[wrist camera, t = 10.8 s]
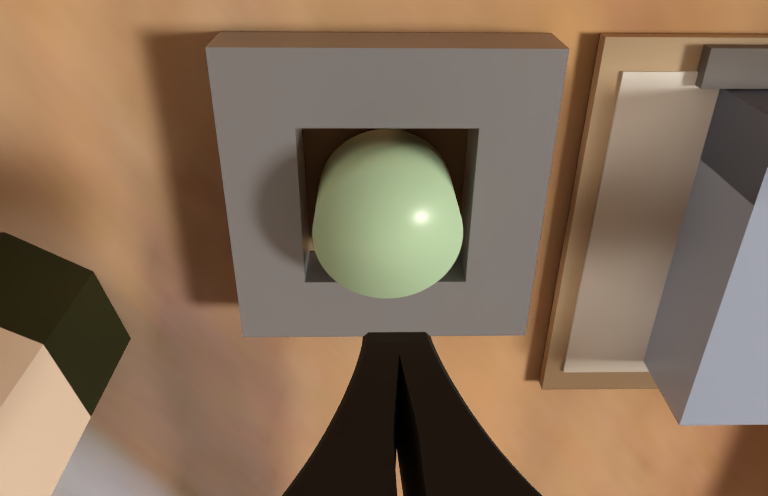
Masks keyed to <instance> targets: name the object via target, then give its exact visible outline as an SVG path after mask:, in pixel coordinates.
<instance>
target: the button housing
mask: <svg viewBox="0 0 768 496" xmlns="http://www.w3.org/2000/svg"><path fill="white" fill-rule="evenodd" d="M205 50H206V58H207V66H208V73H209V81H210V89H211V96H212V104H213V111H214V119H215V127H216V134H217V142H218V150H219V157H220V165H221V173H222V180H223V188H224V195H225V203H226V211H227V218H228V226H229V234H230V241H231V249H232V257H233V264H234V272H235V279H236V287H237V295H238V302H239V310H240V318H241V325H242V333H243V337H346V336H364V335H366V334H367V333H368V332H426V333H427V334H428V335H429V336H503V335H525V334H526V327H527V321H528V314H529V308H530V301H531V295H532V288H533V282H534V275H535V269H536V262H537V256H538V249H539V243H540V236H541V230H542V223H543V217H544V210H545V204H546V197H547V191H548V184H549V178H550V171H551V165H552V158H553V152H554V145H555V139H556V132H557V126H558V119H559V113H560V106H561V100H562V93H563V87H564V80H565V74H566V67H567V61H568V54H569V48H568V47H567V46H565V45H564V44H563V43H562V42H561V41H560V40H559V39H558V38H556V37H555V36H554V35H553V34H552V33H418V32H219V33H218V34H217V35H216V36H215V37H214V38H213V39H212V41H211V42H210V43H209V44H208V45H207V46H206V47H205ZM302 128H468V137H467V150H466V162H465V175H464V187H463V200H462V212H461V218H462V224H463V240H462V246H461V249H460V252H459V255H458V257H457V259H456V261H455V262H454V264H453V265H452V267H451V268H450V270H449V271H448V272H447V273H446V274H445V275H444V276H443V277H442V278H441V279H440V280H439V281H438V282H436V283H435V284H433V285H432V286H430V287H428V288H427V289H425V290H423V291H421V292H418V293H416V294H413V295H409V296H406V297H400V298H389V299H385V298H374V297H368V296H364V295H361V294H358V293H355V292H353V291H350V290H349V289H347V288H345V287H343V286H342V285H340V284H339V283H338V282H336V281H335V280H334V279H333V278H332V277H331V276H330V275H329V274H328V273H327V272H326V271H325V270H324V268H323V267H322V265H321V263H320V262H319V260H318V258H317V255H316V253H315V252H310V249H309V232H308V215H307V198H306V181H305V164H304V147H303V129H302Z"/></svg>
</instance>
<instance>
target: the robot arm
mask: <svg viewBox="0 0 768 496" xmlns="http://www.w3.org/2000/svg"><path fill="white" fill-rule="evenodd" d="M396 450H397V453H398V461H399V468H400V475H401V482H402V489H403V496H542V495H541V494H540V493H539V492H538V491H537V490H536V489H535V488H534V487H533V486H532V485H531V484H530V483H529V482H528V481H527V480H526V479H525V478H524V477H523V476H522V475H521V474H520V473H519V471H518V470H517V469H516V468H515V467H514V466H513V465H512V464H511V463H510V461H509V460H508V459H507V458H506V457H505V456H504V454H503V453H502V452H501V451H500V450H499V449H498V447H497V446H496V445H495V444H494V442H493V441H492V440H491V438H490V437H489V436H488V434H487V433H486V432H485V430H484V429H483V428H482V426H481V425H480V424H479V422H478V421H477V419H476V418H475V417H474V415H473V414H472V412H471V411H470V409H469V408H468V406H467V405H466V403H465V402H464V400H463V398H462V397H461V395H460V394H459V392H458V390H457V389H456V387H455V385H454V384H453V382H452V380H451V379H450V377H449V375H448V373H447V371H446V370H445V368H444V366H443V364H442V362H441V360H440V358H439V356H438V354H437V352H436V349H435V347H434V345H433V342H432V340H431V337H430V336H429V335H428V334H427V333H426V332H368V333H367V334H366V335H364V336H363V342H362V347H361V351H360V355H359V359H358V362H357V365H356V367H355V370H354V373H353V376H352V378H351V380H350V383H349V385H348V387H347V390H346V392H345V394H344V397H343V399H342V401H341V403H340V405H339V407H338V409H337V411H336V413H335V415H334V417H333V418H332V420H331V422H330V424H329V426H328V428H327V430H326V432H325V433H324V435H323V437H322V438H321V440H320V442H319V443H318V445H317V447H316V448H315V450H314V451H313V453H312V454H311V456H310V458H309V459H308V461H307V462H306V464H305V465H304V467H303V468H302V469H301V471H300V472H299V473H298V475H297V476H296V478H295V479H294V480H293V482H292V483H291V484H290V486H289V487H288V489H287V490H286V491H285V492H284V494H283V495H282V496H397V487H396V472H395V466H396Z"/></svg>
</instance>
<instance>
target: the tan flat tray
mask: <svg viewBox="0 0 768 496" xmlns="http://www.w3.org/2000/svg"><path fill="white" fill-rule="evenodd" d="M720 89H768V34H630V33H600V39H599V44H598V50H597V56H596V61H595V67H594V73H593V78H592V84H591V90H590V95H589V101H588V107H587V112H586V118H585V124H584V129H583V135H582V141H581V147H580V152H579V158H578V164H577V169H576V175H575V181H574V186H573V192H572V198H571V203H570V209H569V215H568V220H567V226H566V232H565V237H564V243H563V249H562V254H561V260H560V266H559V271H558V277H557V283H556V288H555V294H554V300H553V305H552V311H551V317H550V322H549V328H548V334H547V339H546V345H545V351H544V357H543V362H542V368H541V374H540V379H539V382H540V385H541V388H542V390H549V389H659V388H658V387H657V385H656V383H655V381H654V380H653V378H652V376H651V374H650V372H649V371H648V369H647V367H646V365H645V364H644V362H643V360H644V357H645V353H646V350H647V346H648V343H649V339H650V335H651V332H652V328H653V325H654V321H655V318H656V314H657V311H658V307H659V303H660V300H661V296H662V293H663V289H664V286H665V282H666V278H667V275H668V271H669V268H670V264H671V261H672V257H673V254H674V250H675V246H676V243H677V239H678V236H679V232H680V229H681V225H682V222H683V218H684V214H685V211H686V207H687V204H688V200H689V197H690V193H691V190H692V186H693V182H694V179H695V175H696V172H697V168H698V165H699V161H700V158H701V154H702V150H703V147H704V143H705V140H706V136H707V133H708V129H709V126H710V122H711V118H712V115H713V111H714V108H715V104H716V101H717V97H718V94H719V90H720Z"/></svg>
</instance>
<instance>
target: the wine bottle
mask: <svg viewBox="0 0 768 496" xmlns="http://www.w3.org/2000/svg"><path fill="white" fill-rule="evenodd" d="M130 339H131V338H130V336H129V335H128V333H127V331H126V329H125V327H124V326H123V324H122V322H121V320H120V319H119V317H118V315H117V313H116V311H115V310H114V308H113V306H112V304H111V302H110V301H109V299H108V297H107V295H106V294H105V292H104V290H103V288H102V286H101V285H100V283H99V281H98V279H97V277H96V276H95V274H94V272H93V271H90V270H88V269H86V268H84V267H81V266H79V265H77V264H74V263H72V262H70V261H68V260H65V259H63V258H61V257H59V256H56V255H54V254H52V253H50V252H47V251H45V250H43V249H41V248H38V247H36V246H34V245H31V244H29V243H27V242H25V241H22V240H20V239H18V238H16V237H13V236H11V235H9V234H7V233H1V234H0V496H51V494H52V492H53V490H54V488H55V486H56V484H57V483H58V481H59V479H60V477H61V475H62V473H63V471H64V469H65V467H66V465H67V463H68V461H69V459H70V457H71V455H72V453H73V451H74V449H75V447H76V445H77V443H78V441H79V439H80V437H81V435H82V433H83V431H84V429H85V427H86V425H87V423H88V421H89V419H90V418H91V416H92V414H93V412H94V410H95V408H96V406H97V404H98V402H99V400H100V398H101V396H102V394H103V392H104V390H105V388H106V386H107V384H108V382H109V380H110V378H111V376H112V374H113V372H114V370H115V368H116V366H117V364H118V362H119V360H120V358H121V356H122V355H123V353H124V351H125V349H126V347H127V345H128V343H129V341H130Z"/></svg>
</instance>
